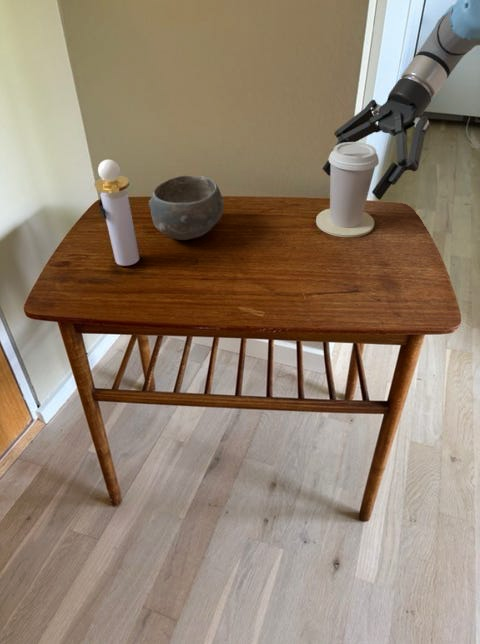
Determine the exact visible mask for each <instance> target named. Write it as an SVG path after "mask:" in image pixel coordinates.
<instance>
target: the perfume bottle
mask: <svg viewBox="0 0 480 644" xmlns="http://www.w3.org/2000/svg"><path fill="white" fill-rule="evenodd" d="M97 173H98V176H99V177H100V178H98V179H97V180H95V181H94V184H93V185H94V190H95V191H97V192H98V193H100V196H99V201H98V207H99V212H100V215H101V217H102V218H103V219H104V222H105V223H106V226H107V230H108V234H109V240H110V243H111V249H112V252H113V257H114V261H115V263H116V264H117V265H119V266H123V267H127V266H131V265H134V264H136V263H138V261H139V260H140V253H139V247H138V242H137V235H136V231H135V225H134V220H133V215H132V210H131V205H130V199H129V195H128V190H127V188H129V186H130V180H129V178H128V177H127V176H124V175H121V167H120V165H119V164H118V162H116V161H115V160H113V159H111V158H110V159H104V160H102V161H101V162H99V164H98V167H97Z"/></svg>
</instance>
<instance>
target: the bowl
mask: <svg viewBox="0 0 480 644" xmlns="http://www.w3.org/2000/svg"><path fill="white" fill-rule="evenodd" d="M220 190H221V189H220V188H219V186H218V184H217V183H216V181H215V180H213V179H212V178H210V177H207V176H203V175H193V174H188V175H180V176H175V177H172V178H169V179H167V180H165V181H163V182H161V183H159V185H157V186H156V187H155V188H154V190H153V191H152V195H151V197H150V199H149V200H148V206H149V209H150V215H151V216H150V217H151V220H152V223H153V226H154V227H155V229H157V230H158V231H159V232H161V234H163V235H164V236H166V237H168V238H171V239H174V240H177V241H178V240H179V241H189V240H192V239H196V238H201V237H202V236H204V235H205V234H207V233H208V232H210V231H211V230H212V229H213V228H214V227H215V226H216V224H217V223H218V222H219V221H220V219H221V218H222V216H223V213H224V199H225V198H223V196H222V193H221V191H220Z"/></svg>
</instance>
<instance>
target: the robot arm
mask: <svg viewBox="0 0 480 644" xmlns="http://www.w3.org/2000/svg"><path fill="white" fill-rule="evenodd" d="M477 46H480V0H456V1H455V3H454V4H452V5H451V6H450V7H448V8H447V10H446V11H445V12H444V13H443V14H442V15H441V17H440V18H439V19H438V20H437V22H436V24H435V26H434V28H433V29H432V30H431V32H430V33H429V35H428V36H427V38H426V40H425V41H424V43H423V45H421V47H420V49H419V50H418V52H417V53H416V54H415V56H414V57H413V58H412V60H411V61H410V62H409V64H408V66H407V67H406V68H405V69H404V71H403V72H402V74H401V76H400V79H398V80H397V82H396V83H395V85H393V87H392V88H391V90H390V92H389V93H388V96H387V99H386V100H385V101H386V102H385V103H383V104H382V105H381V104H378V102H377V101H376V100H375V99H371V100H370V101H369V102H368V103H367V105H366V106H365V107H364V109H362V110H360V111H359V112H358V113H357V114H356V115H354V116H353V117H352V118H350V119H349V120H347V122H345V123H344V124H343V125H342V126H340V127H339V128H338V129H336V130H335V131H334V133H333V135H334V136H335V137H336V139H337V143H336V144H335V146H336V145H338V144H341V143H346V142H359V141H360V140H362V139H364V138H367V137H368V136H371V135H373V134H374V133H376V134H377V133H380V132H381V133H384V134H390V135H391V136H392V137H395V138H396V156H397V157H396V159H397V160H396V161H395V162H392V163H391V164H390V165H389V167H388V169H387V170H386V171H385V173H384V174H383V175H382V177H381V178H380V179H379V181H378V183H376V185H375V186H374V188H373V190H371V193H372V194H373V195H374V197H375V198H376V199H377V200H382V198H383V197H384V195H385V194H386V192H388V189H389V188H390V187H391V185H393V186H394V185H396V184H397V183H398V181H399V180H400V178H401V177H402V176H403V174H404V173H405V172H406V171H411V172H417V171H418V169H419V166H420V161H421V157H422V153H423V152H422V151H423V147H424V143H425V137H426V134H427V132H428V130H429V129H430V128H431V123H430V121H429V119H428V117H427V116H426V115H423V114H424V112H425V111H426V109H427V108H428V107H429V106H430V104H431V103H432V99H434V98H435V97H436V95H437V94H438V92H439V91H440V89H441V88H442V87H443V85H444V84H445V82H447V80H448V78H449V77H450V75H451V74H452V72H453V71H454V70H455V68H456V67H457V65H458V64H459V63H460V62H461V60H462V58H464V57H465V55H467V54H468V53H469V52H470V51H472V50H473V49H474V48H475V47H477ZM413 127H414V129H413V134H412V140H411V144H410V149H409V153H408V130H409V129H411V128H413ZM335 146H334V147H335ZM334 147H333V148H332V150H331V151H330V154H331V152H332V151H333V149H334ZM330 154H329V155H330ZM322 170H323V171H324V172H325V174H326V175H327V176H329V177H330V174H331V164H330V162H329V161H328V160H327V161H326V162H325V164H324V165H323V167H322Z"/></svg>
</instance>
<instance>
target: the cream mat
mask: <svg viewBox="0 0 480 644" xmlns="http://www.w3.org/2000/svg"><path fill="white" fill-rule="evenodd" d="M315 223H316V226H317V227H318V229H319V230H321V231H322V232H324V233H325V234H328V235H331V236H334V237H339V238H348V239H349V238H359V237H362V236H365V235H367V234H370V232H372V231H373V229H374V226H375V220H374V218H373V217H372V216H371V215H370V214H369V213H367V212H366V211H364V212H363V216H362V219H361V223H360V224H359V225H358V226H356V227H352V228H343V227H338V226H336V225H334V224H332V223H331V222H330V207H329V208H325V209H324V210H322V211H321V212H319V213H318V214H317V216H316V219H315Z"/></svg>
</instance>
